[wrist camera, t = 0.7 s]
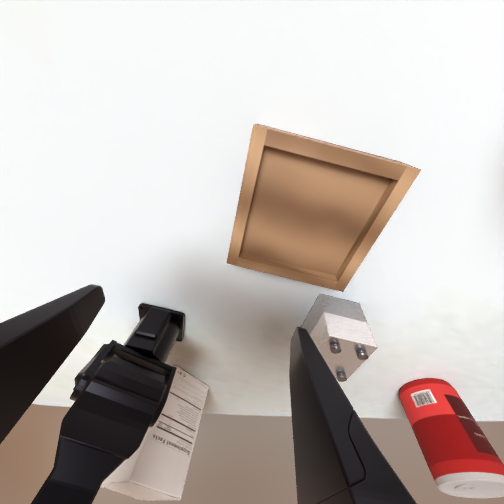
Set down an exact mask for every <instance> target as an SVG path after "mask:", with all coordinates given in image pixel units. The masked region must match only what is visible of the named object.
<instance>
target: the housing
mask: <svg viewBox="0 0 504 504" xmlns="http://www.w3.org/2000/svg"><path fill="white" fill-rule="evenodd" d="M301 328H305V329H306V330H307V331H308V333H309V335H310V336H311V338H312V340H313V341H314V343H315V345H316V346H317V348H318V350H319V351H320V353H321V355H322V356H323V358H324V360H325V361H326V363H327V365H328V366H329V368H330V370H331V372H332V373H333V375H334V377H335V378H336V379H337V380H338V381H341V382H343V381H346V380H347V379H348V378H349V377H350V376H351V374H352V373H353V372H354V371H355V370H356V369H357V368H358V367H359V366H360V365H361V364H362V363H363V362H364V361H365V360H366V359H368V357H369V356H370V355H371V354H372V353H373V352H374V351H375V350H376V349H377V348H378V347H377V345H376V342H375V340H374V337H373V335H372V333H371V330H370V328H369V326H368V323H367V321H366V318H365V316H364V314H363V311H362V309H361V306H360V304H359V303H357V302H353V301H349V300H344V299H340V298H336V297H332V296H328V295H324V294H319V296H318V297H317V299H316V301H315V303H314V305H313V306H312V308H311V310H310V312H309V314H308V315H307V317H306V319H305V321H304V322H303V324H302V326H301Z"/></svg>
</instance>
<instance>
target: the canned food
mask: <svg viewBox="0 0 504 504" xmlns="http://www.w3.org/2000/svg"><path fill="white" fill-rule="evenodd" d="M399 395H400V400H401V402H402V405H403V407H404V410H405V412H406V414H407V417H408V419H409V422H410V424H411V426H412V429H413V431H414V433H415V436H416V438H417V441H418V443H419V445H420V448H421V450H422V453H423V455H424V457H425V460H426V462H427V465H428V467H429V469H430V471H431V474H432V476H433V478H434V481H435V483H436V485H437V486H438V489H439V490H440V491H442V492H444V493H446V494H449V495H453V496H459V497H468V498H495V497H503V496H504V465H503V463H502V461H501V460H500V458H499V457H498V455H497V454H496V452H495V450H494V449H493V447H492V446H491V444H490V443H489V442H488V440H487V438H486V437H485V435H484V433H483V432H482V430H481V429H480V427H479V426H478V424H477V423H476V421H475V419H474V418H473V416H472V415H471V413H470V412H469V410H468V409H467V407H466V405H465V404H464V402H463V401H462V399H461V398H460V396H459V395H458V393H457V391H456V390H455V389H454V388H453V387H452V386H451V385H450V384H449V383H448V382H446V381H443V380H440V379H433V378H426V379H418V380H414V381H411V382H409V383H407V384H405V385H404V386H402V388H401V389H400V391H399Z"/></svg>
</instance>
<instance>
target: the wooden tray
mask: <svg viewBox="0 0 504 504" xmlns="http://www.w3.org/2000/svg"><path fill="white" fill-rule="evenodd" d="M420 171H421V170H420V169H418V168H415V167H412V166H410V165H407V164H405V163H402V162H399V161H396V160H392V159H388V158H384V157H381V156H377V155H373V154H369V153H365V152H362V151H358V150H354V149H350V148H347V147H343V146H339V145H335V144H332V143H328V142H324V141H320V140H317V139H313V138H309V137H305V136H301V135H298V134H294V133H290V132H286V131H283V130H279V129H275V128H271V127H268V126H264V125H260V124H255V125H253V129H252V134H251V139H250V145H249V150H248V155H247V160H246V165H245V170H244V176H243V181H242V186H241V191H240V196H239V202H238V207H237V212H236V217H235V222H234V227H233V233H232V238H231V243H230V248H229V253H228V258H227V263H228V264H232V265H236V266H240V267H244V268H248V269H252V270H257V271H261V272H265V273H269V274H273V275H277V276H281V277H285V278H289V279H293V280H297V281H302V282H306V283H310V284H314V285H318V286H322V287H326V288H330V289H334V290H338V291H342V292H343V291H344V289H345V288H346V286H347V285H348V283H349V281H350V280H351V278H352V277H353V275H354V274H355V272H356V271H357V269H358V267H359V266H360V264H361V263H362V261H363V260H364V258H365V256H366V255H367V253H368V252H369V250H370V249H371V247H372V246H373V244H374V242H375V241H376V239H377V238H378V236H379V235H380V233H381V232H382V230H383V228H384V227H385V225H386V224H387V222H388V221H389V219H390V218H391V216H392V214H393V213H394V211H395V210H396V208H397V207H398V205H399V204H400V202H401V200H402V199H403V197H404V196H405V194H406V193H407V191H408V189H409V188H410V186H411V185H412V183H413V182H414V180H415V179H416V177H417V175H418V174H419V172H420Z"/></svg>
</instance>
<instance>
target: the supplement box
mask: <svg viewBox="0 0 504 504" xmlns="http://www.w3.org/2000/svg"><path fill="white" fill-rule="evenodd" d="M174 367H176V368H177V369H176V372H175V375H174V379H173V382H172V385H171V388H170V392H169V395H168V398H167V401H166V403H165V406H164V408H163V410H162V412H161V414H160V416H159V418H158V420H157V421H156V423H155V424H154V426H153V427H149V428H148V430H147V432H146V434H145V436H144V438H143V441H142V443H141V445H140V447H139V448H138V449H137V450H136V451H135V452H134V454H133V455H132V456H131V457H130V458H129V459H126V460H125V461H124V462H123V463H122V464H121V465H120V466H119V467H118V468H117V469H116V470H115V471H113V472H112V473H111V474H110V475H109V476H108V477H107V478H106V479H105V480H104V481H103V483H102V484H101V486H100V487H102V488H106V489H110V490H113V491H116V492H119V493H122V494H125V495H128V496H130V497H133V498H135V499H138V500H143V501H154V500H155V501H156V500H180V499H181V495H182V491H183V487H184V483H185V479H186V476H187V472H188V467H189V464H190V460H191V456H192V452H193V448H194V444H195V440H196V436H197V432H198V428H199V424H200V420H201V416H202V413H203V409H204V405H205V401H206V397H207V393H208V389H209V386H207V385H206V384H204V383H202V382H201V381H199V380H198V379H196V378H195V377H193V376H192V375H190V374H188V373H187V372H185V371H184V370H182V369H180V368H179V367H177V366H174Z"/></svg>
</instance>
